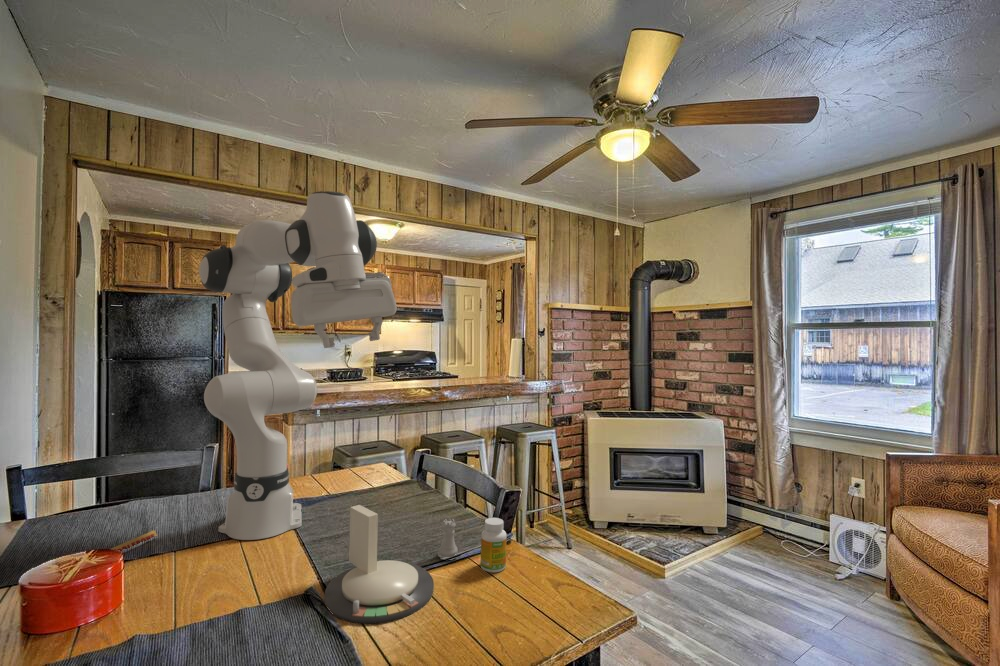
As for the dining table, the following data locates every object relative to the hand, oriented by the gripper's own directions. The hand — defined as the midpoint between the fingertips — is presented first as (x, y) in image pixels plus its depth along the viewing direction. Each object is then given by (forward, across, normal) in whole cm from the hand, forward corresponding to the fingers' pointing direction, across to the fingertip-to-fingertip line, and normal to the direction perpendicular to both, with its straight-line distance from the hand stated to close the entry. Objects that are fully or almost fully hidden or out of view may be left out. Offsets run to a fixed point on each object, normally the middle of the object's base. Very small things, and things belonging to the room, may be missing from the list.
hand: (352, 343), depth 92 cm
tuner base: (+47, +4, +2) cm, 47 cm away
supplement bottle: (+52, -19, +8) cm, 56 cm away
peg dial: (+46, +3, +2) cm, 46 cm away
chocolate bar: (+38, +37, -48) cm, 72 cm away
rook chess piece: (+50, -14, -1) cm, 52 cm away
